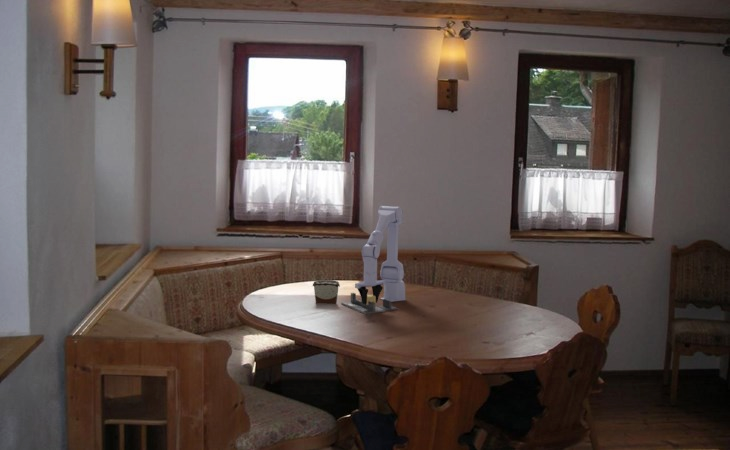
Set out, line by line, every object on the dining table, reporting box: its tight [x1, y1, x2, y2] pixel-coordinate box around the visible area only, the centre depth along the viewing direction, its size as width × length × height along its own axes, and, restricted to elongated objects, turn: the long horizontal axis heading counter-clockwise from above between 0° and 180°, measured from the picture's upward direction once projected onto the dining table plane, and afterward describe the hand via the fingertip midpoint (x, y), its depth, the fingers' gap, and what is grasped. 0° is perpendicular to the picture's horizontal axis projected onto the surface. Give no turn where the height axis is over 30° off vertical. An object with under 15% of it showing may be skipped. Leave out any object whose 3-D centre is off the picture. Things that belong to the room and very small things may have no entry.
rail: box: [340, 292, 386, 315], centre depth 341 cm, size 10×21×5 cm, turn 31°
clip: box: [366, 293, 377, 305], centre depth 336 cm, size 4×4×4 cm
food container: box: [312, 279, 341, 306], centre depth 350 cm, size 12×6×10 cm, turn 84°
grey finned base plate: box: [377, 299, 398, 312], centre depth 340 cm, size 6×7×4 cm
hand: (369, 303), depth 336 cm, fingers closed on clip, 5 cm apart
